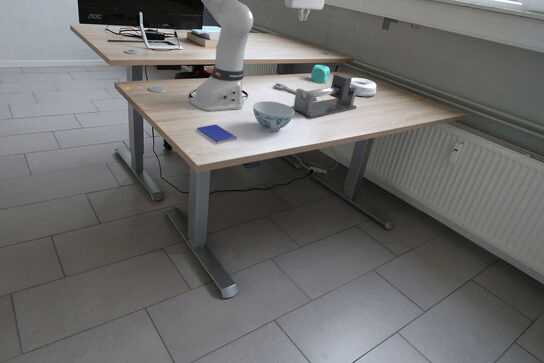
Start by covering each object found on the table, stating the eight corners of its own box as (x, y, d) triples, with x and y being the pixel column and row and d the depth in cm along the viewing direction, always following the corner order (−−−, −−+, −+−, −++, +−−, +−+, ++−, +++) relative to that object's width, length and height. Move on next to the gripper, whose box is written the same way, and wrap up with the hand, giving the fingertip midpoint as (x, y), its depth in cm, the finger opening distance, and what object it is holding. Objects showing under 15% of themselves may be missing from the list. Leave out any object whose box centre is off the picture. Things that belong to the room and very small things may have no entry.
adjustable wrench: (317, 101, 178) (318, 98, 177) (309, 103, 174) (309, 100, 173) (279, 86, 192) (279, 82, 191) (270, 87, 188) (270, 84, 187)
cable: (373, 91, 207) (376, 80, 204) (375, 100, 192) (378, 88, 189) (342, 85, 209) (344, 74, 206) (341, 94, 194) (344, 82, 191)
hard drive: (237, 136, 127) (216, 124, 134) (217, 141, 122) (196, 127, 129) (237, 141, 127) (216, 128, 135) (217, 145, 122) (196, 131, 130)
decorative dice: (328, 81, 212) (330, 67, 208) (323, 84, 205) (326, 69, 201) (314, 78, 214) (317, 64, 210) (310, 81, 208) (312, 66, 204)
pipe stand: (310, 119, 154) (314, 96, 149) (289, 109, 161) (293, 87, 156) (355, 108, 175) (361, 88, 170) (335, 100, 182) (340, 80, 177)
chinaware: (243, 122, 141) (245, 103, 137) (275, 118, 149) (278, 100, 145) (265, 138, 131) (268, 117, 127) (299, 133, 139) (302, 113, 135)
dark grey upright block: (341, 100, 168) (346, 78, 163) (329, 95, 172) (333, 74, 167) (346, 99, 170) (351, 78, 166) (334, 94, 174) (339, 73, 170)
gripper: (319, -16, 158) (313, 19, 165) (285, -21, 145) (279, 18, 152) (330, -14, 155) (324, 22, 161) (296, -18, 142) (290, 21, 148)
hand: (302, 20), depth 157 cm, fingers closed
